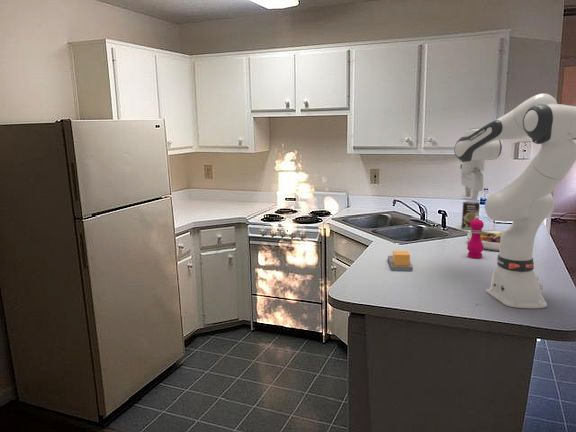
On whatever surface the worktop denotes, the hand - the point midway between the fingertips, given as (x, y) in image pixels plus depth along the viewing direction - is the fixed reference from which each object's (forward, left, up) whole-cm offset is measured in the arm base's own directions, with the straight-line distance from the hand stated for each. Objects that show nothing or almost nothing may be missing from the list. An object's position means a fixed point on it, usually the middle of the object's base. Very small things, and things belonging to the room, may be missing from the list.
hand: (471, 198), depth 201 cm
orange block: (-2, +29, -29) cm, 41 cm away
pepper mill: (+17, -8, -31) cm, 37 cm away
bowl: (+40, -26, -32) cm, 57 cm away
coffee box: (+78, -22, -31) cm, 87 cm away
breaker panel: (+2, +29, -31) cm, 43 cm away
